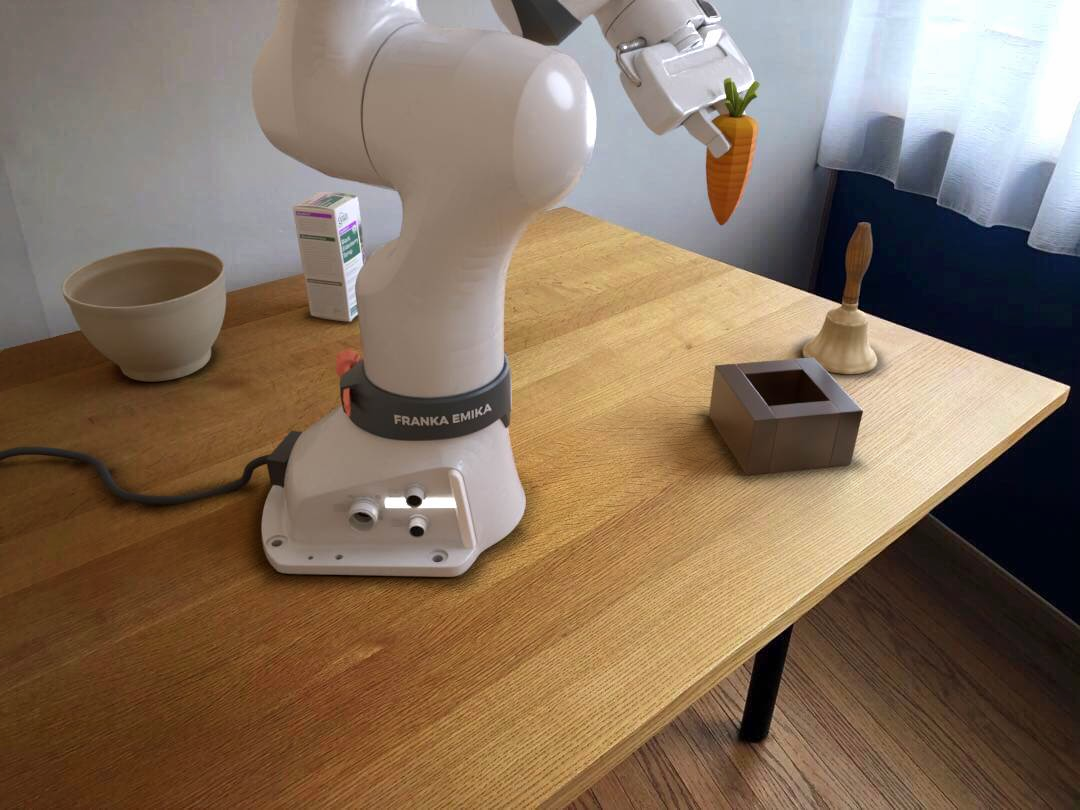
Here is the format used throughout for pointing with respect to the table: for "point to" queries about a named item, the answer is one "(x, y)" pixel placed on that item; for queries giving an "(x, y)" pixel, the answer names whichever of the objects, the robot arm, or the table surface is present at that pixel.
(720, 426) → the stand
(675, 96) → the robot arm
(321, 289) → the syrup box
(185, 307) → the planter bowl
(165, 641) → the table surface
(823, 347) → the hand bell
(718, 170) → the carrot
